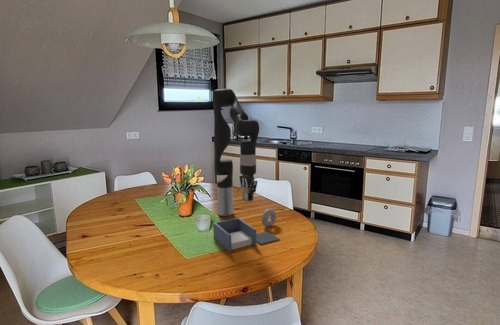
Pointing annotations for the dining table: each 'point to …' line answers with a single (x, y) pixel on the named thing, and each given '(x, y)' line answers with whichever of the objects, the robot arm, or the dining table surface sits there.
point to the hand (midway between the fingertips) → (248, 198)
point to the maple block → (246, 194)
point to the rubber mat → (265, 238)
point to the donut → (266, 215)
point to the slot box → (234, 233)
